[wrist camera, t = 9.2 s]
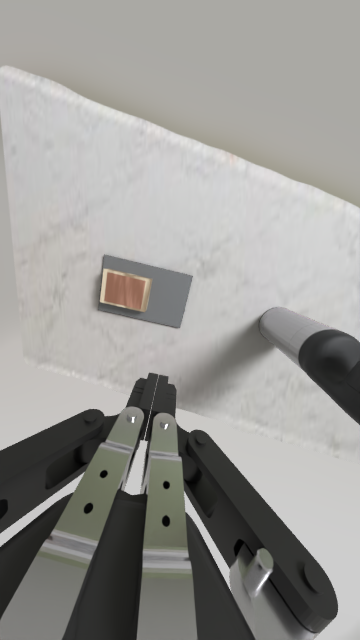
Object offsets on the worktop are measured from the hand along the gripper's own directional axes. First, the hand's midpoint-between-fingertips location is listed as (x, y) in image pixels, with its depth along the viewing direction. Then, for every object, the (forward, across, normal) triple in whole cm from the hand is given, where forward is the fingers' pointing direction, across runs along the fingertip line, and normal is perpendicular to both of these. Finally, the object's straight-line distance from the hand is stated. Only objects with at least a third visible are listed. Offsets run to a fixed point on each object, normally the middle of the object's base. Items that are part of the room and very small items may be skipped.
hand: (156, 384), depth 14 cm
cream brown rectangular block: (+33, +7, 0) cm, 34 cm away
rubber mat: (+35, +8, 0) cm, 36 cm away
